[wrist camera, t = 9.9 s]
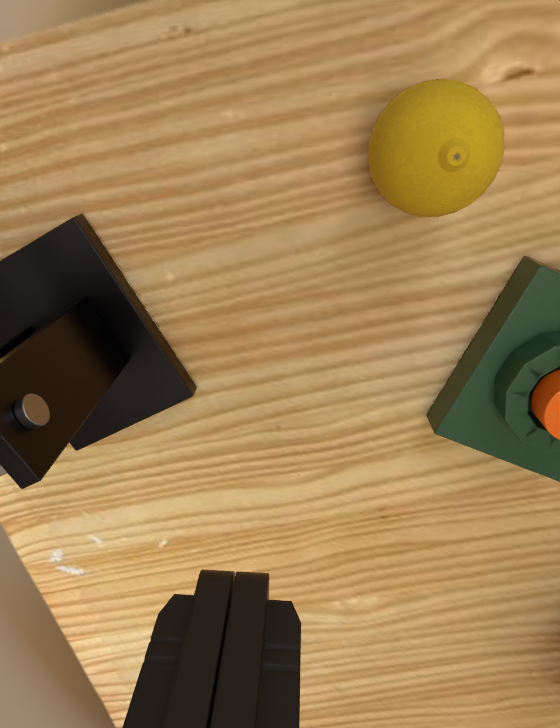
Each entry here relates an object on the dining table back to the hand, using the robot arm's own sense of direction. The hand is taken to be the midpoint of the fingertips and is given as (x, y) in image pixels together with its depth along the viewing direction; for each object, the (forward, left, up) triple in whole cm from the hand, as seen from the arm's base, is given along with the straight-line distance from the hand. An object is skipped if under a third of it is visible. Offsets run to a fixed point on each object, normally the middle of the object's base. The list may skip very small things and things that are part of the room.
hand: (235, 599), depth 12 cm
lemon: (-11, +3, -21) cm, 24 cm away
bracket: (+7, -10, -21) cm, 24 cm away
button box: (-2, +16, -21) cm, 26 cm away
